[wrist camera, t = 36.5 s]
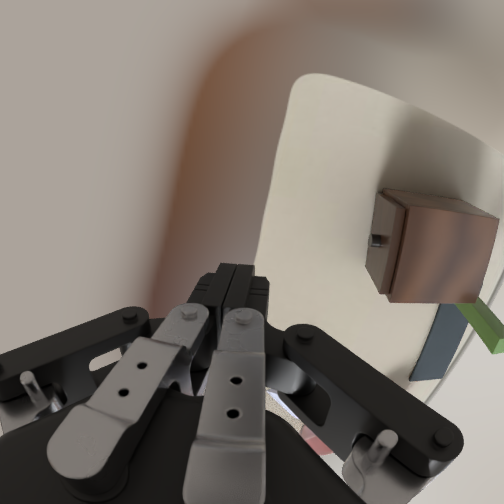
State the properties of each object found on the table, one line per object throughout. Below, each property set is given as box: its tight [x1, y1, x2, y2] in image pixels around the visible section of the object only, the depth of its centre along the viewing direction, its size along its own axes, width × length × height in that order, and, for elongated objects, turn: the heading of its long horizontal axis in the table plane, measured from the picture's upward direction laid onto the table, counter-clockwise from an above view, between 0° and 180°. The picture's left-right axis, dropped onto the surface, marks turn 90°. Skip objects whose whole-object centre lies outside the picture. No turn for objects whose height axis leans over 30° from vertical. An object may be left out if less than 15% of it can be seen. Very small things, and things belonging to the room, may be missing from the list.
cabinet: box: [383, 189, 499, 303], centre depth 34 cm, size 14×12×10 cm
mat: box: [409, 283, 483, 381], centre depth 44 cm, size 22×8×1 cm, turn 178°
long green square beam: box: [454, 297, 504, 354], centre depth 33 cm, size 2×3×15 cm
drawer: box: [365, 193, 407, 294], centre depth 34 cm, size 14×10×8 cm
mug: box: [299, 424, 334, 455], centre depth 52 cm, size 12×10×6 cm
